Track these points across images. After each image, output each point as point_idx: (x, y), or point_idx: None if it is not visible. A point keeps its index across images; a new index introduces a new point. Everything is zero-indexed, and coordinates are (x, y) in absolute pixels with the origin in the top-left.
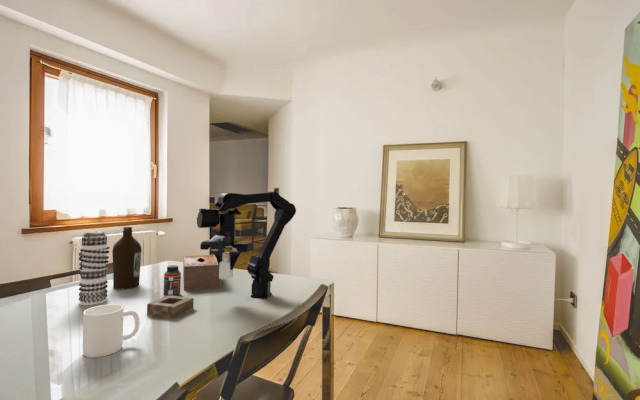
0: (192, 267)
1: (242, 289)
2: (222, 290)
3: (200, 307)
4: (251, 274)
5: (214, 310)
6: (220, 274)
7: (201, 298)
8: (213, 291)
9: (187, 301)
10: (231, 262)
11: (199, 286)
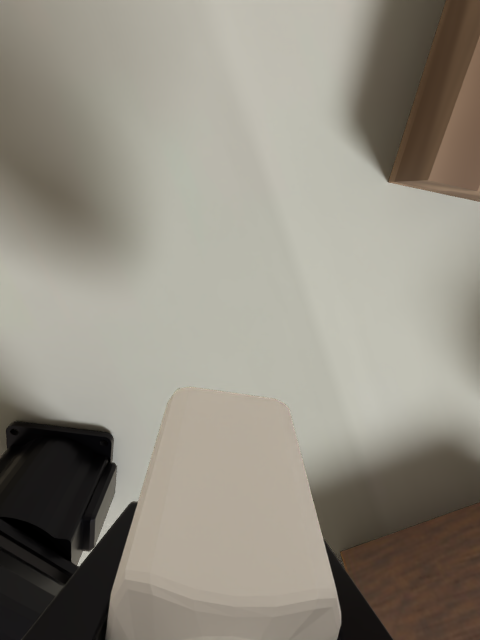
0: None
1: None
2: None
3: (347, 212)
4: (45, 579)
5: (234, 161)
6: (274, 426)
7: (390, 377)
8: (356, 492)
9: (457, 87)
10: (65, 629)
11: (450, 528)
